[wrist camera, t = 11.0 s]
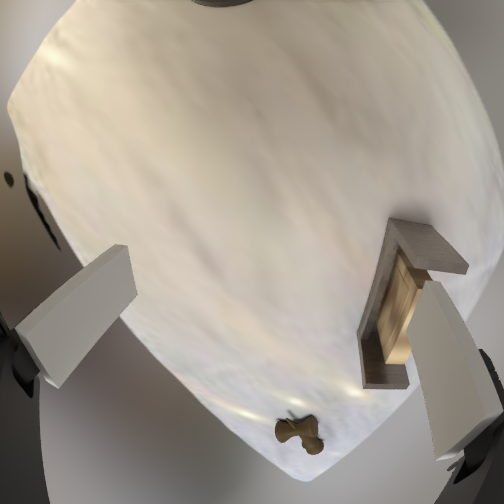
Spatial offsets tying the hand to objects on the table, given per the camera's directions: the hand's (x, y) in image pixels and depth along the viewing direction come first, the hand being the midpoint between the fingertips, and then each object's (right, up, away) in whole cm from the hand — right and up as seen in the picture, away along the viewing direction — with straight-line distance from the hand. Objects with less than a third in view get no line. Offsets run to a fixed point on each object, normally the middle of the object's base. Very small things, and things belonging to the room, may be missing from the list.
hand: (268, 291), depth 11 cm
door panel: (+21, -4, +26) cm, 33 cm away
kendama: (+13, -43, +48) cm, 65 cm away
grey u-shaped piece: (+21, -3, +27) cm, 34 cm away
